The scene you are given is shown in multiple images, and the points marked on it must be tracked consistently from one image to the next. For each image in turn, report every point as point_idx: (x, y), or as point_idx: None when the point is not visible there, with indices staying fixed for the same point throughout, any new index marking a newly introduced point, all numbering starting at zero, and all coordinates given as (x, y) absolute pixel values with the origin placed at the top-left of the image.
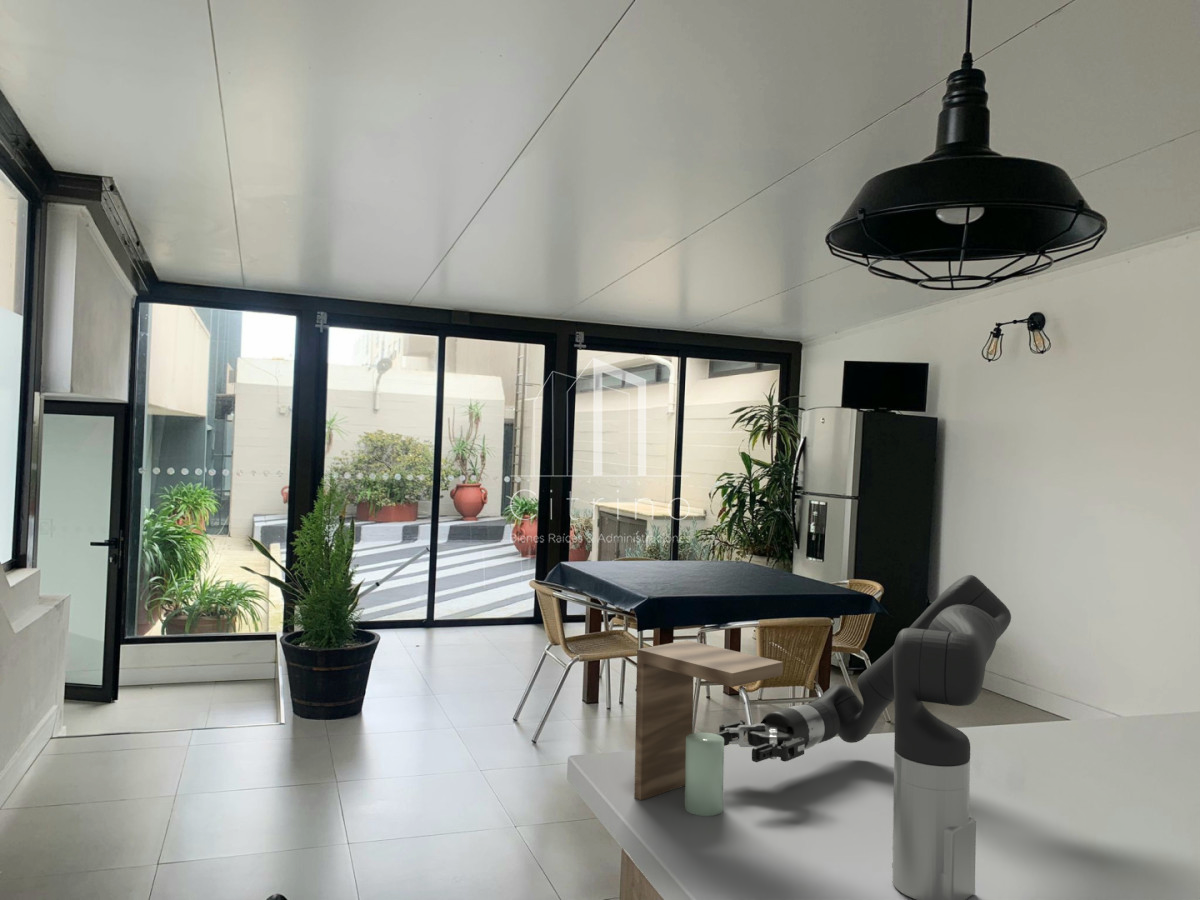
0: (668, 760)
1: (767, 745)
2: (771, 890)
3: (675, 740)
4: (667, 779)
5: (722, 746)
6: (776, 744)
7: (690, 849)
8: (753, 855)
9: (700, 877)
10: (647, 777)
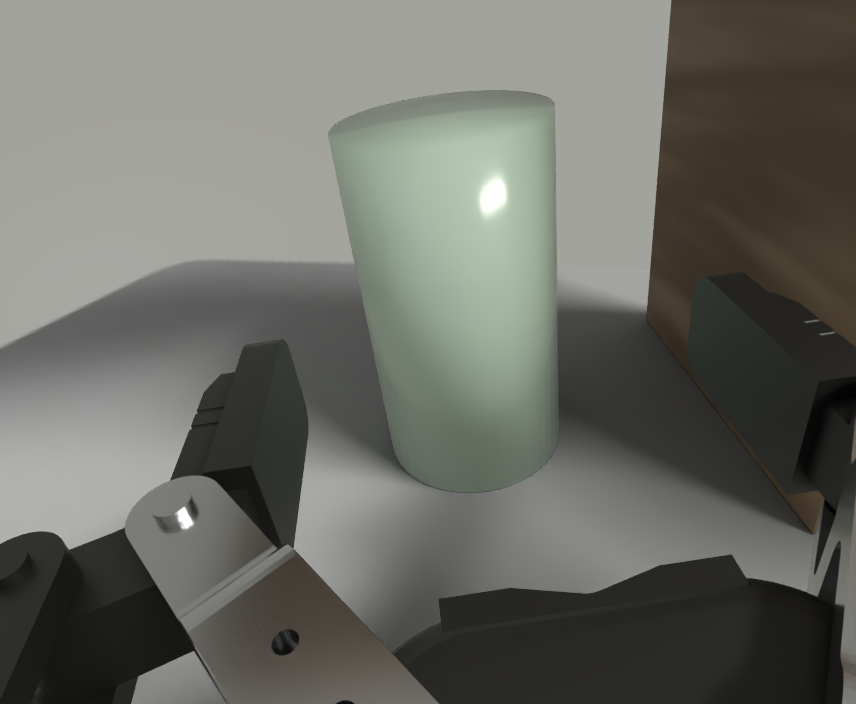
0: None
1: (213, 448)
2: (15, 340)
3: (781, 201)
4: None
5: (336, 168)
6: (127, 522)
7: (280, 305)
8: (118, 383)
9: (184, 281)
10: (665, 263)
